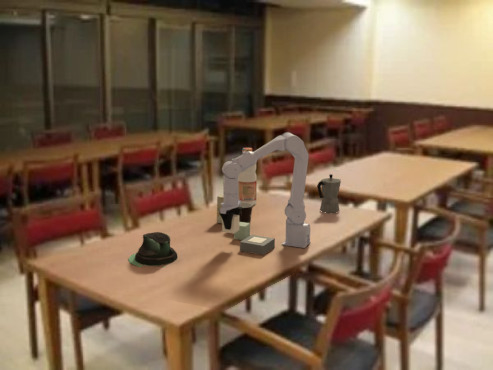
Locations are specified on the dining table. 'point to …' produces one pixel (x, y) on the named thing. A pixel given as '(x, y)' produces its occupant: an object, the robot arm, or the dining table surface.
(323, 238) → the dining table surface
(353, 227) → the dining table surface
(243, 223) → the sage green block
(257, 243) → the charcoal base block
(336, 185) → the coffeepot
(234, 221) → the cream block
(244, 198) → the fruit juice
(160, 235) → the dark fedora hat
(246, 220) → the coffee mug
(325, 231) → the dining table surface
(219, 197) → the skincare box
